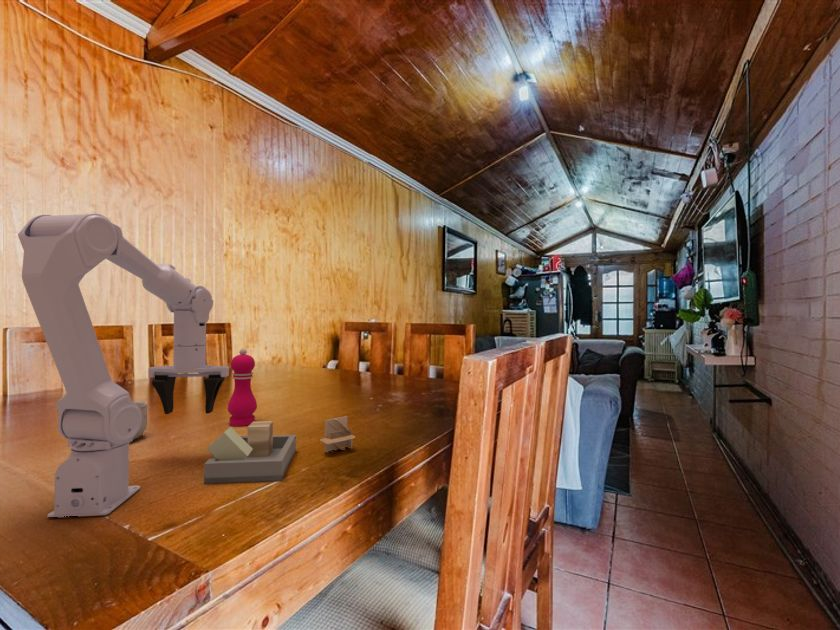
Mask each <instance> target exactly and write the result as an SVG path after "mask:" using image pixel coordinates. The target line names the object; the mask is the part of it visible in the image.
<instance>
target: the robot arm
mask: <svg viewBox="0 0 840 630" xmlns="http://www.w3.org/2000/svg"><path fill="white" fill-rule="evenodd" d="M17 236H18V239H19V242H20V245H21V246H22V249H23V259H22V268H21V269H22V270H21V280H22V283H23V286H24V288H25V291H26V293H27V296H28V298H29V301H30V304H31V306H32V308H33V311H34V313H35V316H36V319H37V320H38V321H37V322H38V323H39V326H40V328H41V331H42V334H43V337H44V339H45V341H46V345H47V346H48V349H49V352H50V354H51V357H52V360H53V362H54V365H55V366H56V370H57V372H58V374H59V378H60V380H61V382H62V384H63V387H64V389H65V394H63V395H62V397H61V398H59V400H58V401H57V402H56V403H55V406H56V408H57V412H58V418H57V419H58V420H57V429H58V432H59V434H60V435H61V437H62V438H64V439H65V440H67V447H70V453H69V456H68V457H67V458H66V459H65V460H64V461H63V462H62V463H61V464H60V465H59V466H58V467H57V469H56V471H55V475H54V501H53V502H54V507H53V509H54V510H52V511H51V512H49V513H48V514H47V518H48V517H58V518H70V517H69V516H78V517H94V516H95V517H97V516H107V515H108V514H110V513H112V511H115V509H117V508H118V507H119V506H121V504H123V503H124V502H125V501H127V500H128V499H130V497H132V496H133V495H134V494H135V493H137V492H138V491H139V490H140V489H141V486H140V485H129V484H130V483H129V481H130V476H129V475H130V472H129V471H130V467H129V466H130V443H131V442H133V438H134V436H135V435H136V434H137V432H138V431H139V429H140V426H141V423H142V413H141V410H140V408H139V407H138V406H137V405H136V404H135V403H134V402H135V401H133V400H132V398H131V394H130V392H129V391H127V390H126V389H125V388H123V387H122V386H120V385H119V384H118V383H116V382H115V381H114V380H112V377H111V374H110V371H109V369H108V366H107V363H106V360H105V357H104V355H103V351H102V349H101V346H100V342H99V341H98V338H97V333H96V331H95V328H94V325H93V323H92V319H91V318H90V314H89V311H88V308H87V306H86V303H85V299H84V297H83V294H82V290H81V289H80V283H81V281H82V279H83V278H84V277H85V275H87V274H88V273H89V272H90V271H92V270H93V269H94V268H96V267H97V266H98V265H100V264H101V263H102V262H103V261H105V260H107V261H109V262H111V263H112V264H114V265H116V266H118V267H119V268H121V269H123V270H125V271H126V272H129V273H130V274H132V275H133V276H136V277H137V278H139V279H141V283H142V287H143V288H144V290H146V291H148V292H149V293H151V294H152V295H154V296H155V297H157V298H159V299H160V300H161V301H163V302H164V303H165V304H166V308H167V309H168V311H169V312H170V313H172V314H173V345H172V346H173V355H172V357H173V364H172V365H169V366H168V365H167V366H165V365H164V366H163V365H162V366H151V367H148V371H147V373H148V378H150V379H151V378H153V379H152V380H151V385H152V386H153V388H154V390H155V391H156V393H157V395H158V397H159V399H160V401H161V405H162V408H163V413H164V415H169V414H171V413H173V411H174V391H175V383H176V379H177V378H179V377H180V378H188V377H189V378H190V377H191V378H192V377H197V378H198V377H201V378H202V377H204V379H203V384H204V391H205V405H204V406H205V408H204V409H205V414H210V413H212V412H214V407H215V402H216V399H217V396H218V394H219V391H220V389H221V386H222V384H223V383H224V381H225V378H226V377H228V376H230V366H229V365H228V366H226V365H225V366H223V365H207V363H206V358H207V355H206V353H207V349H206V348H207V337H206V336H207V323H208V322H209V320H210V312H211V311H212V309H213V306H214V299H213V298H212V294H211V291H210V290H209V289H207V288H206V287H205V286H202V285H196V284H194V283H193V282H192V280H191V279H189V278H186V277H184V276H183V275H182V274H181V273H179V272H178V271H177V270H176V267H175V266H174V265H172V264H165V263H159V264H158V263H157V264H156V263H155V262H154V261H153V260H152V259H151V258H149V257H148V256H147V255H146V254H145V253H144V252H142V250H140V249H139V248H137V247H136V246H135V244H133V243H132V242H130V240H128V239H127V238H126V237H125V236H124V235H123V231H122V228H121V227H120V226H118V225H117V224H115V223H113V222H112V221H111V220H110V219H109V218H108V217H106V216H105V215H103V214H100V213H96V212H90V213H88V212H87V213H85V214H62V215H61V214H60V215H59V214H57V215H51V214H39V215H35V216H33V217H32V218H31V219H30V220H29V221H28V222H27V223H26V224H25V225H24V226H23V228H21V230H20V231H18V234H17ZM205 377H207V378H205ZM64 516H65V517H64ZM66 516H68V517H66Z"/></svg>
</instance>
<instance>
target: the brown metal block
mask: <svg viewBox="0 0 840 630" xmlns="http://www.w3.org/2000/svg"><path fill="white" fill-rule="evenodd" d="M273 435H274V421H273V420H272V421H271V420H267V421H264V420H263V421H255V422H252V423H251V424H250V425H247V436H248V445H249V446H250V447H251V448H252V449H253V450H252V451H251V452H250V454H249V455H248V456H247V457H263V456H269V454H270V453H271V452H272V450H273Z"/></svg>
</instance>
